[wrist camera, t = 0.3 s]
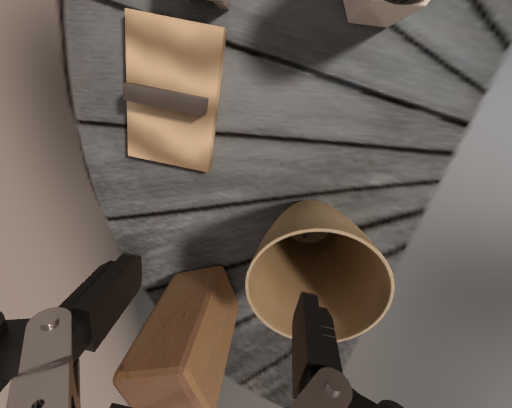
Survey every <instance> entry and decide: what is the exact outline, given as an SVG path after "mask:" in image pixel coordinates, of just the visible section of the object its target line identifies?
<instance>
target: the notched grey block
mask: <svg viewBox="0 0 512 408" xmlns="http://www.w3.org/2000/svg"><path fill="white" fill-rule="evenodd" d="M180 1H184V2H189V3H190V0H180ZM208 1H213V2H214V3H215V4H216V5H217V6H218V8H220V9H225V10H229V7H230V0H208Z"/></svg>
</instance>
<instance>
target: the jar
mask: <svg viewBox="0 0 512 408" xmlns="http://www.w3.org/2000/svg"><path fill="white" fill-rule="evenodd" d="M429 1H430V0H343V3H344V7H345V11H346V16H347V20H348V22H349V23H354V24H362V25H370V26H378V27H385V28H388V27H390V26H391V25H393V24H395V23H397V22H398V21H400V20H402V19H404V18H405V17H407V16H409V15H411V14H412V13H414V12H416V11H418V10H419V9H421V8H423V7H425V6H426V5H427V3H428V2H429Z"/></svg>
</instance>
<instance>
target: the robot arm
mask: <svg viewBox="0 0 512 408" xmlns="http://www.w3.org/2000/svg"><path fill="white" fill-rule="evenodd" d="M141 281H142V266H141V256H139V255H134V254H130V253H123V254H122V255H121V256H120V257H119V258H118V259H117V260H116V261H109V262H107V263H105V264H103V265H101V266H99V267H98V268H97V269H96V270H95V271H94V272H93V273H92V275H91V276H89V277H88V278H87V279H86V280H85V282H83V283H82V284H81V285H80V286H79V287H78V288H77V289H76V290H75V291H74V292H73V293H72V294H71V295H70V296H69V297H68V298H67V299H66V300H65V301H64V302H63V303H62V304H61V305H60V306H59V307H55V308H50V309H46V310H43V311H41V312H39V313H38V314H36V315H35V316H33V317H32V318H31V319H17V320H5V318H4V315H3V313H2V312H0V392H1V391H2V389H3V388H4V387H5V386H6V385H7V384H8V382H9V381H10V380H11V379H12V380H11V384H10V389H9V394H8V400H7V406H6V408H81V407H80V367H79V357H80V356H81V354H82V353H83V352H84V350H88V351H92V352H95V351H96V349H97V348H98V346H99V345H100V344H101V342H102V341H103V340H104V338H105V337H106V335H107V334H108V333H109V331H110V330H111V328H112V327H113V325H114V324H115V323H116V321H117V320H118V319H119V317H120V316H121V314H122V313H123V312H124V310H125V309H126V307H127V306H128V305H129V303H130V302H131V300H132V299H133V297H134V296H135V295H136V294H137V292H138V290H139V288H140V285H141ZM292 379H293V398H294V399H295V400H294V402H293V403H292V404H291V405H290V406H289V407H288V408H403V407H402V406H401V405H399V404H398V403H396V402H394V401H391V400H382V401H381V402H379V403H378V404H376V403H374V402H373V401H371V400H369V399H367V398H365V397H364V396H362V395H360V394H359V393H357V392H356V391H355V390H354V389H353V388H352V387H351V385H350V383H349V381H348V379H347V378H346V377H345V376H344V375H343V372H342V367H341V361H340V356H339V350H338V345H337V339H336V334H335V330H334V323H333V318H332V316H331V315H330V313H329V311H328V310H327V308H323V307H319V302H318V296H317V295H316V294H312V293H307V292H301V294H300V297H299V300H298V303H297V306H296V309H295V312H294V315H293V321H292ZM110 408H132V407H128V406H124V405H119V404H115V403H112V404H111V406H110ZM286 408H287V407H286Z"/></svg>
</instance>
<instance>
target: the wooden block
mask: <svg viewBox="0 0 512 408" xmlns="http://www.w3.org/2000/svg"><path fill="white" fill-rule="evenodd" d="M238 309H239V304H238V301H237V299H236V296H235V294H234V291H233V289H232V286H231V284H230V282H229V279H228V277H227V274H226V272H225V269H224V268H223V267H222V266H214V267H208V268H203V269H197V270H192V271H186V272H181V273H177V274H175V275H174V276H173V277H172V279H171V281H170V282H169V284H168V286H167V287H166V289H165V291H164V292H163V294H162V296H161V297H160V299H159V301H158V302H157V304H156V306H155V307H154V309H153V311H152V313H151V314H150V316H149V317H148V319H147V321H146V323H145V324H144V326H143V328H142V329H141V331H140V332H139V334H138V336H137V337H136V339H135V341H134V342H133V344H132V346H131V347H130V349H129V351H128V352H127V354H126V356H125V357H124V359H123V361H122V362H121V364H120V366H119V367H118V369H117V371H116V372H115V374H114V377H113V385H114V386H115V387H116V389H117V390H118V391H119V393H120V394H121V395H122V397H123V398H124V399H125V401H126V402H127V403H128V405H129V406H130V407H132V408H216V407H217V402H218V398H219V393H220V389H221V385H222V380H223V376H224V371H225V367H226V362H227V358H228V353H229V349H230V344H231V340H232V335H233V331H234V326H235V322H236V317H237V313H238Z"/></svg>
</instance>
